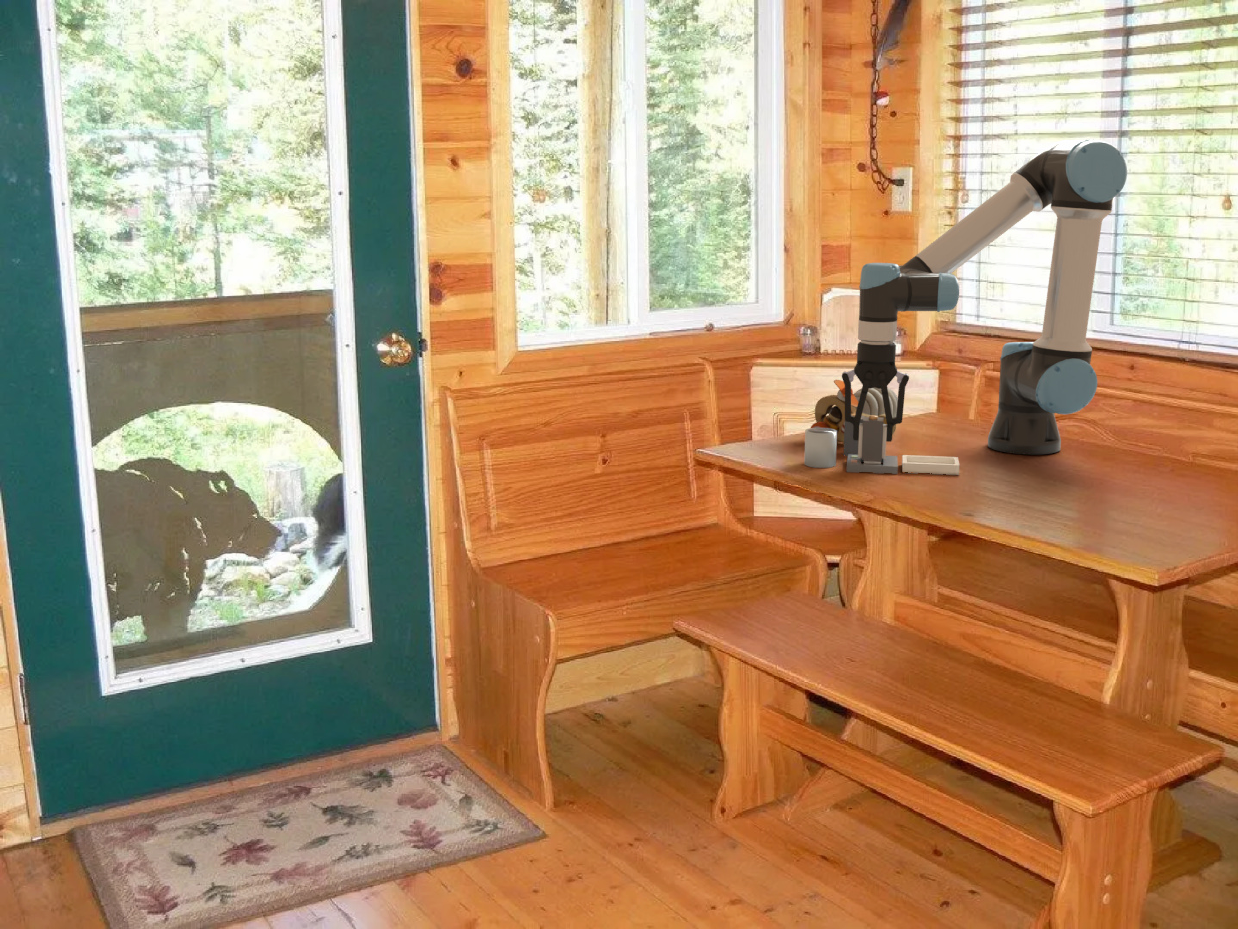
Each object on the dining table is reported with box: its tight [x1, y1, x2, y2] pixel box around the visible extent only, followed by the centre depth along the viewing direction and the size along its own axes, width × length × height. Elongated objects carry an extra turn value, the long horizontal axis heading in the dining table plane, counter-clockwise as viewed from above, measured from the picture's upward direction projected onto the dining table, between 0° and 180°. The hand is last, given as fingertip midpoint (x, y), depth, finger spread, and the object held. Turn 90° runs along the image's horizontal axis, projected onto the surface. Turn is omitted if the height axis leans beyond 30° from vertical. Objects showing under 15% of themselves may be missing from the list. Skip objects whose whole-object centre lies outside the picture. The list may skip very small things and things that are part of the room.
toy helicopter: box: [810, 379, 897, 444], centre depth 305 cm, size 8×21×14 cm, turn 43°
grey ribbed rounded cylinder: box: [853, 387, 898, 418], centre depth 318 cm, size 11×17×11 cm, turn 135°
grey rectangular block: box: [863, 460, 882, 465], centre depth 286 cm, size 3×7×2 cm, turn 170°
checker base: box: [846, 454, 899, 475], centre depth 286 cm, size 10×10×2 cm
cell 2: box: [862, 415, 883, 460], centre depth 285 cm, size 4×4×9 cm
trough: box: [901, 454, 960, 476], centre depth 284 cm, size 11×8×2 cm
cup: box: [803, 427, 838, 469], centre depth 288 cm, size 6×6×7 cm
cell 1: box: [843, 414, 865, 457], centre depth 298 cm, size 4×4×9 cm
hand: (871, 456), depth 286 cm, fingers closed on cell 2, 4 cm apart
